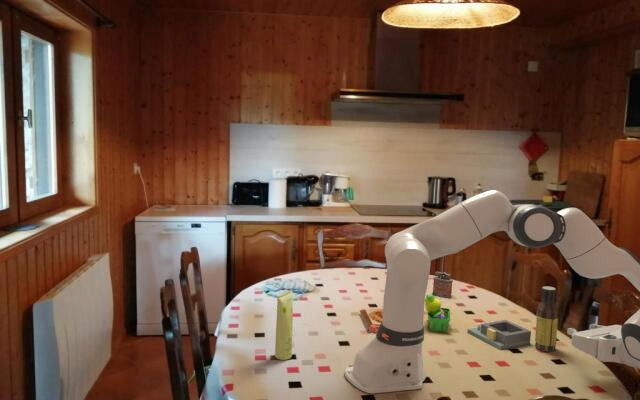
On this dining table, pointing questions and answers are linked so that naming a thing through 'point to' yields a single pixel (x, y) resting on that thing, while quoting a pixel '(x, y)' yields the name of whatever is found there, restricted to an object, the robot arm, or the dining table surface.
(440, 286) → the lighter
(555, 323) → the sauce bottle
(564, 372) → the dining table surface
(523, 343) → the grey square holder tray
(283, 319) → the tube
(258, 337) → the dining table surface
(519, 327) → the socket
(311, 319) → the dining table surface
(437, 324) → the fruit basket
